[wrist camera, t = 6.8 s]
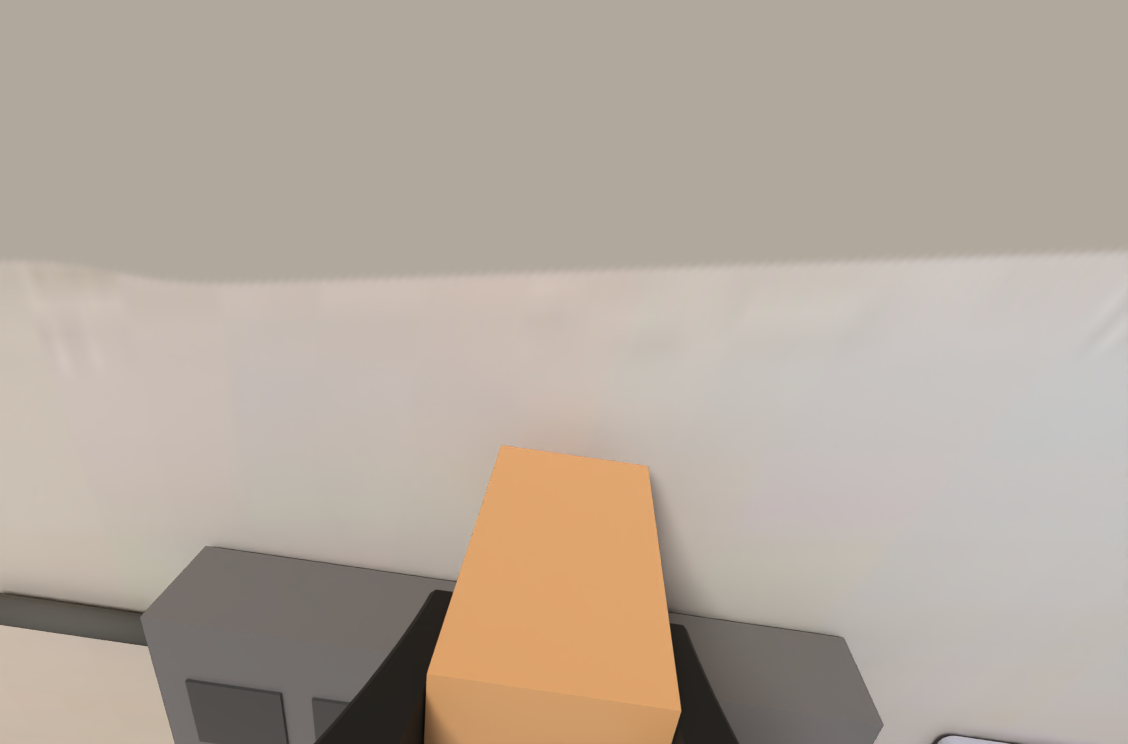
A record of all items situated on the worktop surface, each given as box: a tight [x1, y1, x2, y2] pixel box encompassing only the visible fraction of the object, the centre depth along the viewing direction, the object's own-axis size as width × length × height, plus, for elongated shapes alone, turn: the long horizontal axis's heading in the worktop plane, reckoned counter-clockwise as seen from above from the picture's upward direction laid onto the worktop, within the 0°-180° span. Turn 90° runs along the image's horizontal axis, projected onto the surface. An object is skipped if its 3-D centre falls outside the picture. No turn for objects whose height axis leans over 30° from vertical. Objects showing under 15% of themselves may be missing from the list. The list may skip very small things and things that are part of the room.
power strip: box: [0, 546, 883, 744], centre depth 19 cm, size 31×8×3 cm, turn 83°
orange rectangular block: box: [424, 445, 681, 744], centre depth 13 cm, size 4×4×7 cm
